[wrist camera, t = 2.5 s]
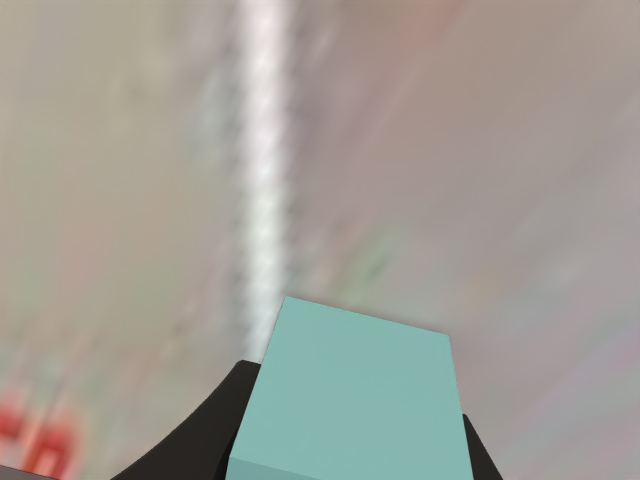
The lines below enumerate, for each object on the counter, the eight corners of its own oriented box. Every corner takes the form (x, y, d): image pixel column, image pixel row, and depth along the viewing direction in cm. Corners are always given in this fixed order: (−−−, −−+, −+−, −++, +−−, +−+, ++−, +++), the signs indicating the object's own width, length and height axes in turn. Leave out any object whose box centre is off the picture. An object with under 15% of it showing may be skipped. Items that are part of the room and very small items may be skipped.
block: (448, 335, 13) (480, 519, 8) (403, 454, 15) (409, 662, 10) (285, 296, 13) (229, 456, 8) (259, 419, 15) (201, 608, 10)
